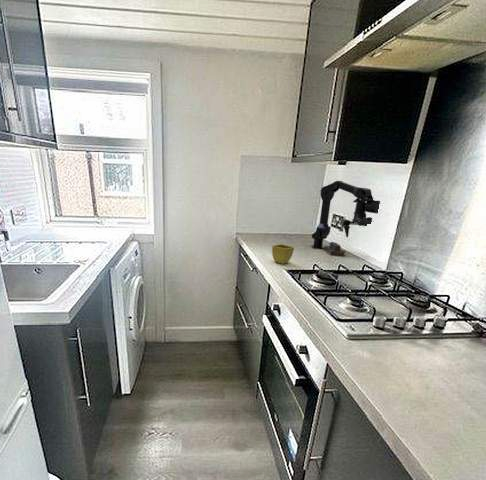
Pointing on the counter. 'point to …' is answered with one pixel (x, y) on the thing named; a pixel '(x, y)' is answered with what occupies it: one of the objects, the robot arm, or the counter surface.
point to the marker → (335, 246)
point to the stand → (332, 252)
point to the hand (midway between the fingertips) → (354, 237)
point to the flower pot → (282, 253)
